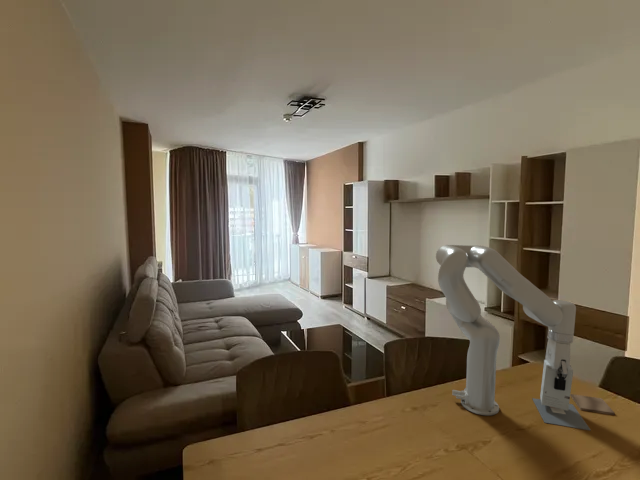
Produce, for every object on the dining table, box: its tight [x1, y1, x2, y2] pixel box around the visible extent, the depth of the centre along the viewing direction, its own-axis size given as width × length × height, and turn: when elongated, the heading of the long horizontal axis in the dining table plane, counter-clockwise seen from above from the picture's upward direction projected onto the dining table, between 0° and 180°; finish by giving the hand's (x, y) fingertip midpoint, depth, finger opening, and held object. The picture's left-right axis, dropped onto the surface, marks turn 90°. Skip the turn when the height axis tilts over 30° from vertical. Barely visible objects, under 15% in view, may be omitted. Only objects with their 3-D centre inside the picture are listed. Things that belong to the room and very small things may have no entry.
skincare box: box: [539, 359, 574, 411], centre depth 124 cm, size 8×6×15 cm
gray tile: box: [532, 397, 592, 431], centre depth 122 cm, size 13×16×1 cm
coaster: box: [570, 393, 616, 416], centre depth 128 cm, size 10×10×1 cm
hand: (556, 384), depth 124 cm, fingers closed on skincare box, 6 cm apart
